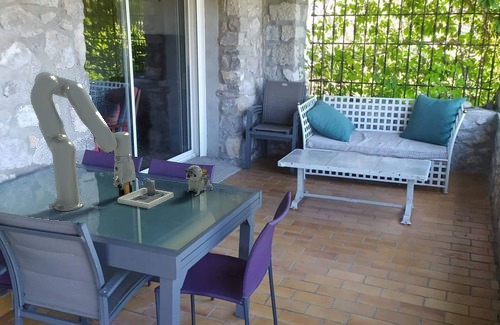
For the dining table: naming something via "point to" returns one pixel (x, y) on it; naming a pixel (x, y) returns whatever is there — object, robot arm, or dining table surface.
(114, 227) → the dining table surface
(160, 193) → the tray
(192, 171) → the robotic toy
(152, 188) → the jaw grey
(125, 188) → the jaw orange
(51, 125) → the robot arm
